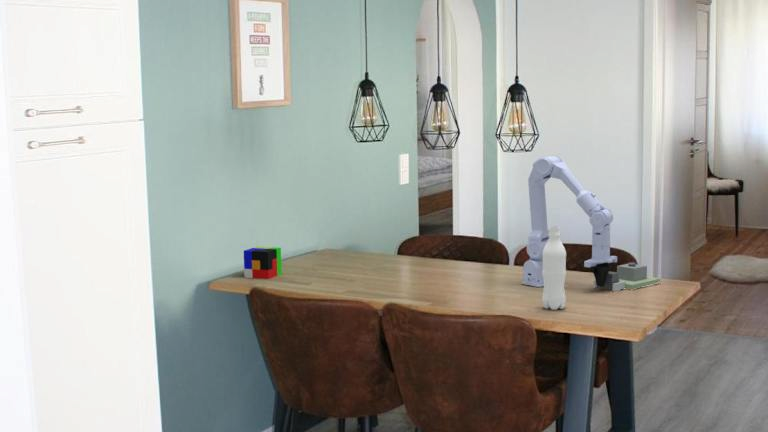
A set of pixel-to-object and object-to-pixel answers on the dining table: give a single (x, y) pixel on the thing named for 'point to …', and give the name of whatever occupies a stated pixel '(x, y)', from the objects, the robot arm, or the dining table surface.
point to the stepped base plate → (631, 277)
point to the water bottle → (554, 271)
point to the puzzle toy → (262, 262)
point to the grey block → (610, 280)
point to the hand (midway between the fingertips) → (600, 286)
